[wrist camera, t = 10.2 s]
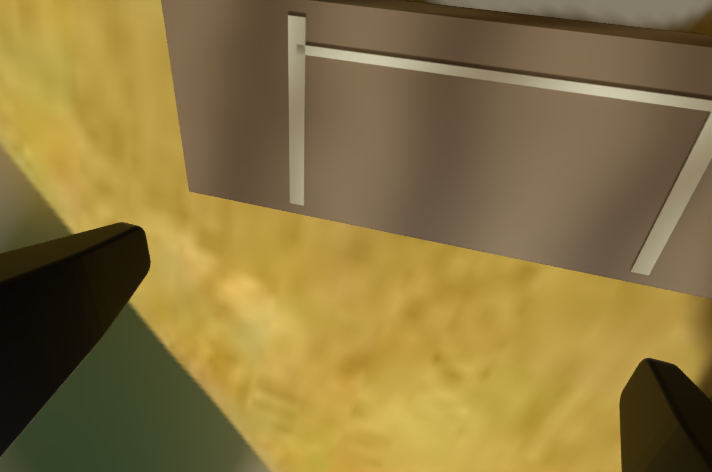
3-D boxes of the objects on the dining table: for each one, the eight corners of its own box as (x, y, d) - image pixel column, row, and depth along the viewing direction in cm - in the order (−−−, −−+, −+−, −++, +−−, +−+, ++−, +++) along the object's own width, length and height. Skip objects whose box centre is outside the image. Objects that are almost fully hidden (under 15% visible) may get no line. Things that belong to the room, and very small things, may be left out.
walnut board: (867, 53, 14) (932, 74, 12) (728, 266, 18) (757, 309, 16) (198, -23, 18) (156, -18, 16) (218, 168, 22) (188, 192, 20)
